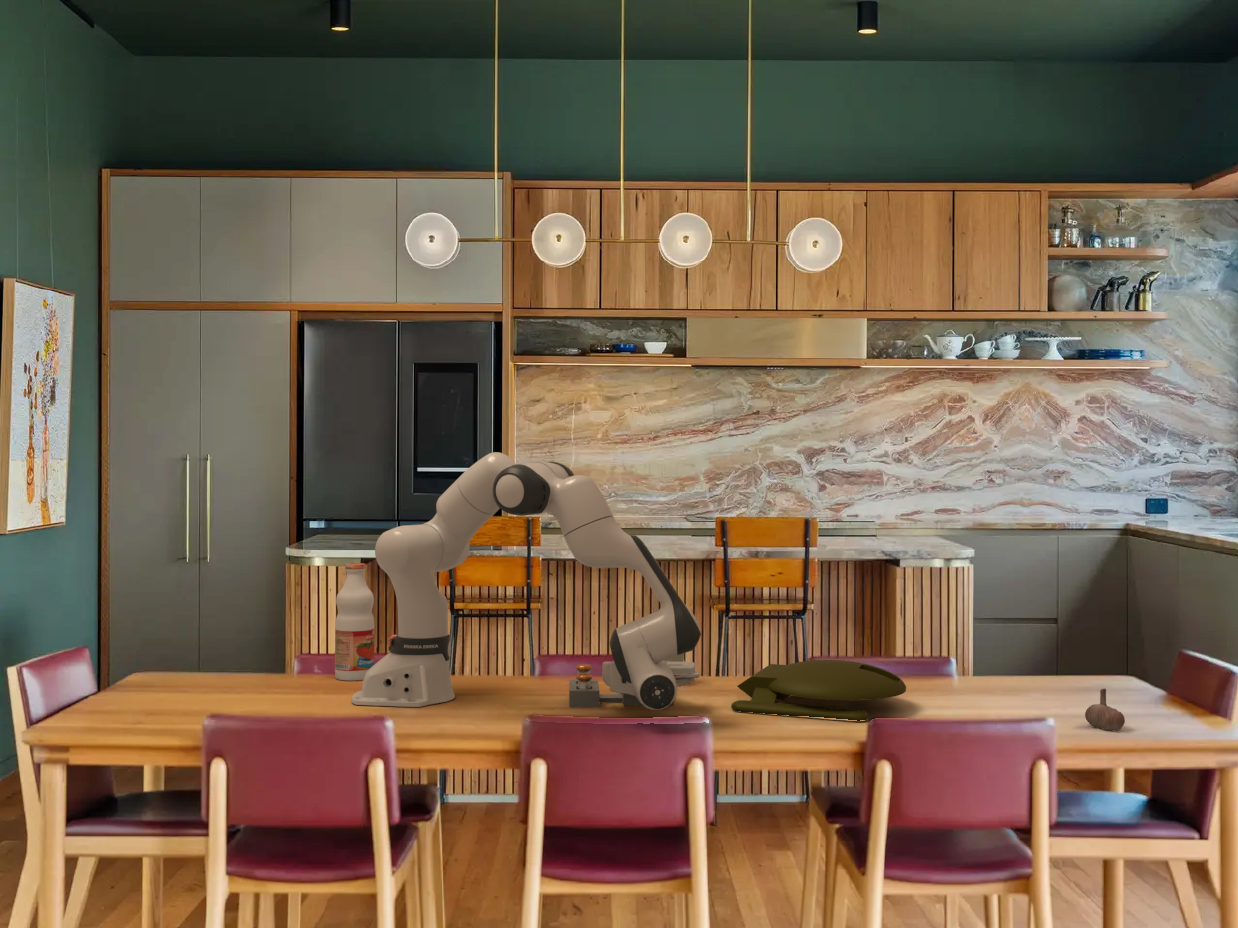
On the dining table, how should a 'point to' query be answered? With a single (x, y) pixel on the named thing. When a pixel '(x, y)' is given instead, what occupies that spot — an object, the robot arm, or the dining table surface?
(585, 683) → the plunger front
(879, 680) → the spaceship
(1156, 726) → the dining table surface
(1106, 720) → the garlic bulb
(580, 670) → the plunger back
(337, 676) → the fruit juice
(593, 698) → the grey double well tray
